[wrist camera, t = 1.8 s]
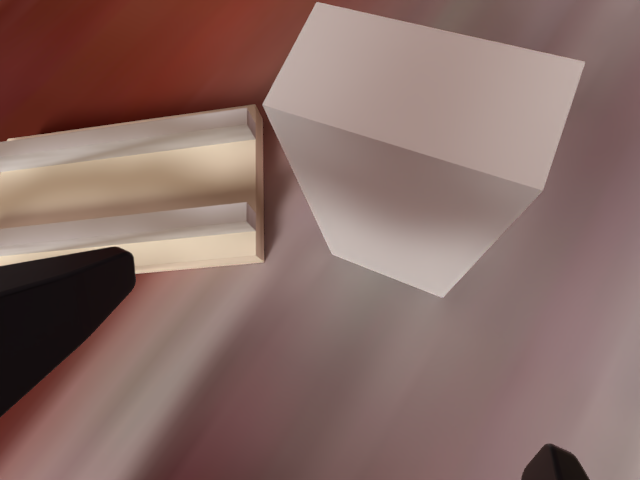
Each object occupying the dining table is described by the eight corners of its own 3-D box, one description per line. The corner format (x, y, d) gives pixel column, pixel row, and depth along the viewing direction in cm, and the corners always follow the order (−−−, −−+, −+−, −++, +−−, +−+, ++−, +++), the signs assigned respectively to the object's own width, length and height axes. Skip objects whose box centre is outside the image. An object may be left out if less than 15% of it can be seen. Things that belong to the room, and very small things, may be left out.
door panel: (442, 298, 20) (543, 190, 7) (331, 254, 21) (262, 104, 9) (462, 243, 20) (585, 61, 8) (353, 205, 22) (316, 2, 10)
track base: (264, 262, 22) (246, 247, 19) (2, 285, 24) (-50, 274, 21) (262, 119, 24) (247, 87, 21) (28, 151, 26) (-15, 125, 23)
